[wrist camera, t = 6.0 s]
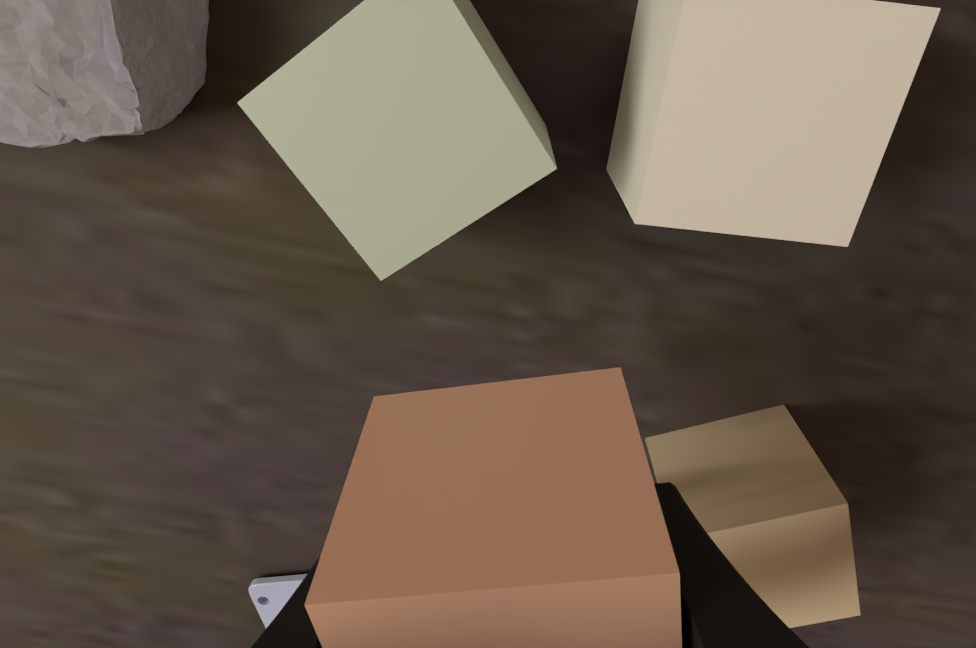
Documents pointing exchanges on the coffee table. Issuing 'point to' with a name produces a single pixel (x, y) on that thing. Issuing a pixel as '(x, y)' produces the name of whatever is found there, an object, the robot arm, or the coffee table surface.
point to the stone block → (97, 67)
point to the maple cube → (767, 510)
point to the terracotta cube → (500, 524)
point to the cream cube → (762, 112)
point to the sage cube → (403, 126)
